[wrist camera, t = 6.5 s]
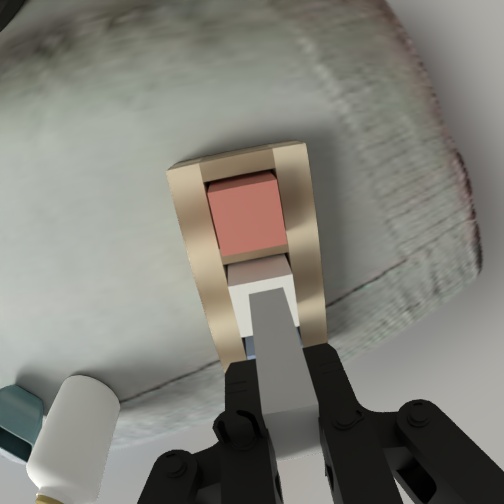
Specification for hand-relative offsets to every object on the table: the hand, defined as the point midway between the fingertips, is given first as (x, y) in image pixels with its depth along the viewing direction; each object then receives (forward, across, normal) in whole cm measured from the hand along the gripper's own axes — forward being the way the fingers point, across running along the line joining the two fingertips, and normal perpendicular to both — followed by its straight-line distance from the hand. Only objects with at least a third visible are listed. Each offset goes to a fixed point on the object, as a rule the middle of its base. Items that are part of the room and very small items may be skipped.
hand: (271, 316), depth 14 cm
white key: (+13, 0, -4) cm, 14 cm away
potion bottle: (+15, -24, -18) cm, 34 cm away
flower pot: (+15, -38, -19) cm, 45 cm away
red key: (+14, 0, +2) cm, 14 cm away
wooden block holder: (+15, 0, -4) cm, 15 cm away
